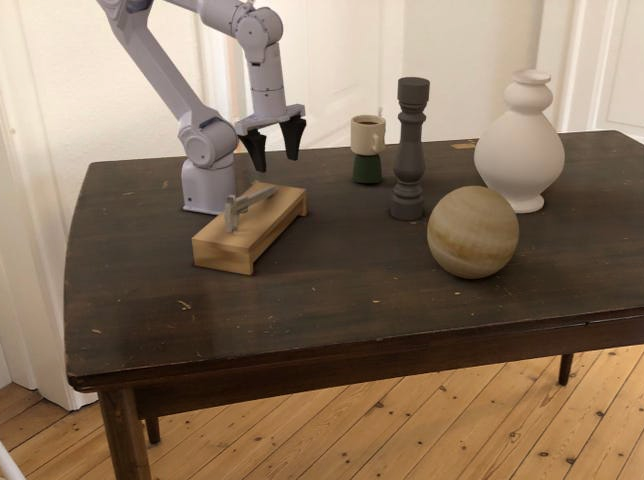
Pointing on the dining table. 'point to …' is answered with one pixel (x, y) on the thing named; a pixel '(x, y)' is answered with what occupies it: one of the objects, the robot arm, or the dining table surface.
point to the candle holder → (410, 149)
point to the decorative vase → (522, 144)
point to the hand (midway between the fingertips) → (277, 165)
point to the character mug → (367, 147)
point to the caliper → (243, 206)
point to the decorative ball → (473, 232)
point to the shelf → (248, 230)
